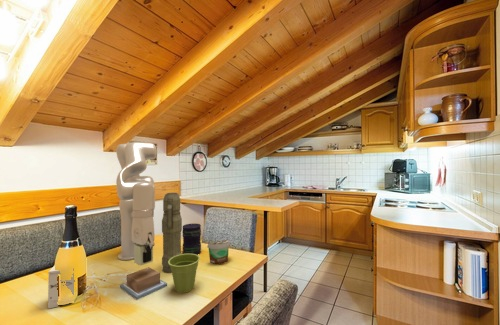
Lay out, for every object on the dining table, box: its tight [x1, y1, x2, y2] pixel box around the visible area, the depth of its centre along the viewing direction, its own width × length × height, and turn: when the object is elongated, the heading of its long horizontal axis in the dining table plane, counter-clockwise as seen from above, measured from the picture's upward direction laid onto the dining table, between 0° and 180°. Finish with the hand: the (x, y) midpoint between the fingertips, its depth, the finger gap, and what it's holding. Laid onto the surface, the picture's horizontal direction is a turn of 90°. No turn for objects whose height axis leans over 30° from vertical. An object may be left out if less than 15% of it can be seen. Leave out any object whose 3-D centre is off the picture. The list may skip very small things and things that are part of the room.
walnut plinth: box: [126, 266, 161, 293], centre depth 91 cm, size 9×9×4 cm
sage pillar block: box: [133, 242, 154, 266], centre depth 91 cm, size 5×5×7 cm
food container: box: [206, 237, 231, 266], centre depth 113 cm, size 12×6×10 cm, turn 131°
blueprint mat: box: [119, 279, 168, 301], centre depth 91 cm, size 14×12×1 cm
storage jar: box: [181, 223, 202, 256], centre depth 126 cm, size 10×10×15 cm
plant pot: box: [168, 253, 201, 294], centre depth 89 cm, size 12×12×11 cm
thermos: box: [161, 192, 183, 274], centre depth 107 cm, size 9×12×35 cm
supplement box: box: [47, 264, 75, 309], centre depth 82 cm, size 7×7×13 cm
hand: (143, 259), depth 91 cm, fingers closed on sage pillar block, 5 cm apart
